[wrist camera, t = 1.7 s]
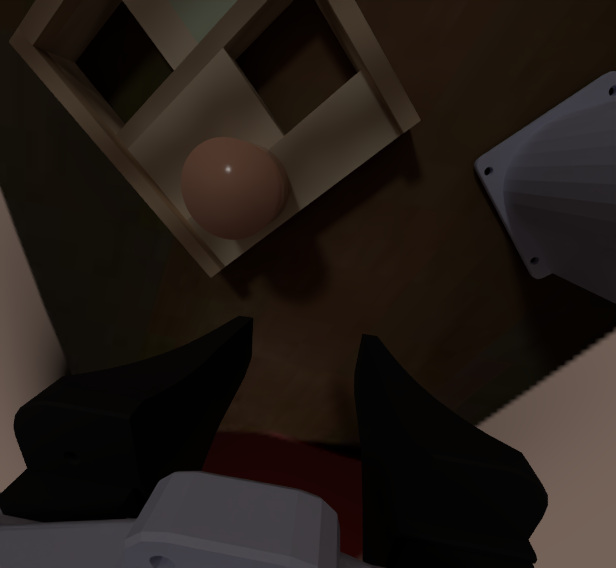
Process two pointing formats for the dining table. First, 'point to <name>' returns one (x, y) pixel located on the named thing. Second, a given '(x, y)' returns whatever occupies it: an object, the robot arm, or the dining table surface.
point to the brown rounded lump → (233, 187)
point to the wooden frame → (216, 102)
